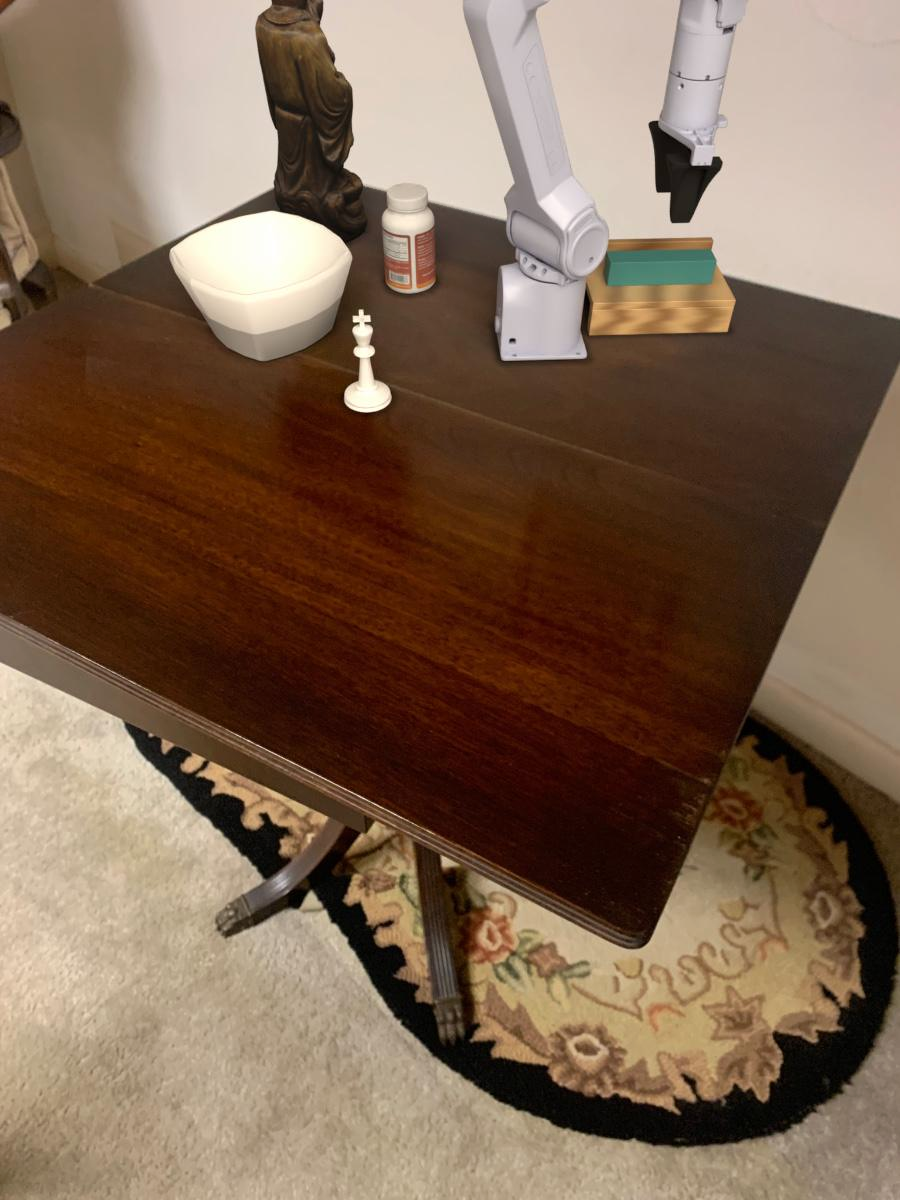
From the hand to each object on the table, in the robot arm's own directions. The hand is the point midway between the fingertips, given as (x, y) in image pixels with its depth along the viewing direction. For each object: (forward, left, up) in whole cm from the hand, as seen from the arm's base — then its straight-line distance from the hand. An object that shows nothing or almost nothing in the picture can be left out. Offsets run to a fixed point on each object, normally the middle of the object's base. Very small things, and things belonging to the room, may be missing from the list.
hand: (672, 206), depth 99 cm
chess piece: (-35, -20, -11) cm, 42 cm away
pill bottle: (-30, +4, -11) cm, 32 cm away
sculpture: (-41, +19, -11) cm, 46 cm away
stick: (-2, -4, -7) cm, 8 cm away
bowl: (-46, -6, -11) cm, 47 cm away
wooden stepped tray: (-2, -3, -11) cm, 11 cm away
